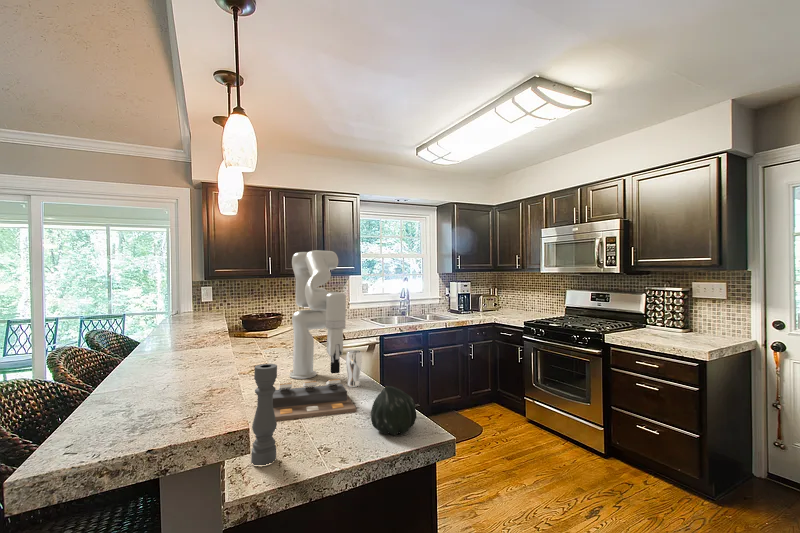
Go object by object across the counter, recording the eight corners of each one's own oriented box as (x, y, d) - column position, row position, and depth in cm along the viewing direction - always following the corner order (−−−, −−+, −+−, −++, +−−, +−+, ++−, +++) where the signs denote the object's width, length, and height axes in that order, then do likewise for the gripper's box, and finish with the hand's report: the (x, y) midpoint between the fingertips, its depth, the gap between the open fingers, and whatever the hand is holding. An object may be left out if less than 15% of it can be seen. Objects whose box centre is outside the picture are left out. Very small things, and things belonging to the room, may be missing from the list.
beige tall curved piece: (362, 383, 168) (363, 350, 168) (359, 387, 161) (360, 353, 161) (347, 382, 168) (348, 349, 168) (344, 387, 161) (344, 352, 162)
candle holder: (261, 469, 93) (263, 370, 94) (246, 462, 96) (248, 366, 97) (281, 459, 98) (283, 365, 99) (265, 453, 102) (268, 362, 102)
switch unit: (268, 399, 144) (268, 384, 144) (344, 392, 154) (344, 378, 154) (267, 421, 123) (268, 403, 123) (355, 411, 133) (356, 395, 133)
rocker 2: (303, 387, 144) (302, 383, 145) (314, 386, 146) (314, 382, 146) (304, 386, 137) (304, 382, 137) (316, 385, 138) (316, 381, 139)
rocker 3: (326, 385, 147) (326, 381, 148) (337, 384, 149) (337, 380, 149) (329, 383, 140) (329, 379, 141) (340, 382, 142) (340, 378, 142)
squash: (427, 407, 123) (398, 372, 125) (420, 427, 109) (388, 387, 111) (396, 432, 126) (368, 397, 128) (385, 454, 111) (354, 414, 113)
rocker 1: (278, 389, 141) (278, 385, 142) (290, 388, 142) (290, 384, 143) (279, 388, 134) (279, 383, 134) (292, 387, 135) (292, 382, 136)
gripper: (323, 322, 148) (322, 368, 147) (328, 327, 134) (328, 378, 133) (341, 322, 150) (341, 367, 150) (349, 327, 136) (348, 376, 136)
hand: (335, 372), depth 142 cm, fingers closed
